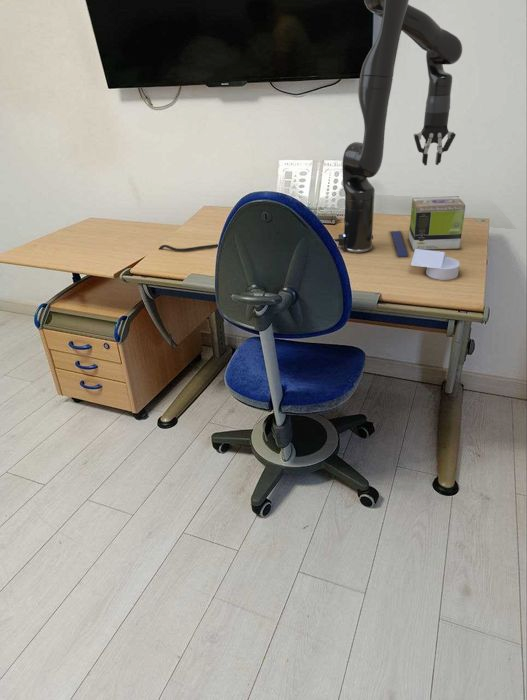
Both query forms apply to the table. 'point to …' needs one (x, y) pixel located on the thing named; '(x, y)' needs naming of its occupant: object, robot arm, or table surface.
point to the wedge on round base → (436, 264)
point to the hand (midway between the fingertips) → (430, 164)
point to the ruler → (399, 244)
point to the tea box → (436, 222)
